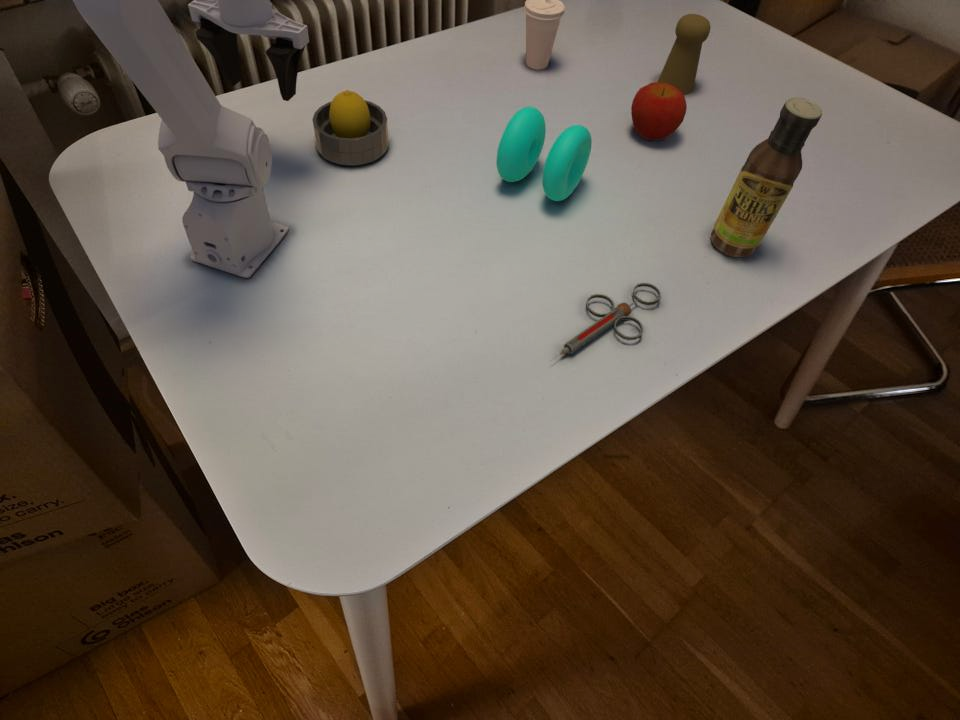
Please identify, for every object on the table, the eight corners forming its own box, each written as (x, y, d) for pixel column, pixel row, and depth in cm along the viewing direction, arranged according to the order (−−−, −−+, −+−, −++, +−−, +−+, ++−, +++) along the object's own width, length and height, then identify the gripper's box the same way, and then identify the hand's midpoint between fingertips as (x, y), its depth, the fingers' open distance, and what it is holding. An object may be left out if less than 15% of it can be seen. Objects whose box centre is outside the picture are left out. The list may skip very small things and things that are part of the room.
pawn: (650, 79, 111) (669, 11, 103) (679, 72, 113) (700, 6, 104) (671, 97, 108) (692, 30, 99) (701, 91, 110) (724, 24, 101)
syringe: (524, 344, 74) (526, 335, 73) (629, 274, 82) (633, 264, 81) (573, 388, 71) (576, 379, 70) (678, 311, 79) (682, 301, 78)
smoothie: (562, 62, 113) (577, -26, 102) (544, 78, 109) (557, -12, 98) (529, 50, 115) (540, -38, 104) (510, 65, 111) (520, -24, 100)
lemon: (375, 134, 96) (371, 82, 90) (367, 157, 93) (363, 104, 87) (337, 130, 96) (331, 77, 90) (328, 152, 93) (321, 100, 87)
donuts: (524, 154, 96) (533, 90, 88) (586, 179, 94) (601, 115, 86) (489, 190, 91) (495, 125, 83) (554, 218, 88) (567, 154, 80)
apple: (686, 144, 100) (703, 96, 94) (641, 153, 98) (655, 105, 92) (659, 116, 105) (674, 69, 98) (616, 124, 102) (628, 76, 96)
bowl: (369, 175, 91) (366, 147, 88) (304, 157, 93) (299, 128, 89) (399, 137, 97) (398, 109, 93) (337, 120, 99) (334, 91, 95)
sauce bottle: (703, 250, 86) (765, 111, 70) (714, 222, 90) (775, 83, 74) (753, 267, 85) (827, 128, 69) (761, 238, 88) (834, 99, 72)
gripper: (315, -26, 74) (329, 87, 85) (202, -53, 77) (230, 61, 87) (282, -1, 70) (301, 115, 81) (164, -30, 73) (198, 87, 83)
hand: (262, 89), depth 84 cm, fingers open, 7 cm apart
